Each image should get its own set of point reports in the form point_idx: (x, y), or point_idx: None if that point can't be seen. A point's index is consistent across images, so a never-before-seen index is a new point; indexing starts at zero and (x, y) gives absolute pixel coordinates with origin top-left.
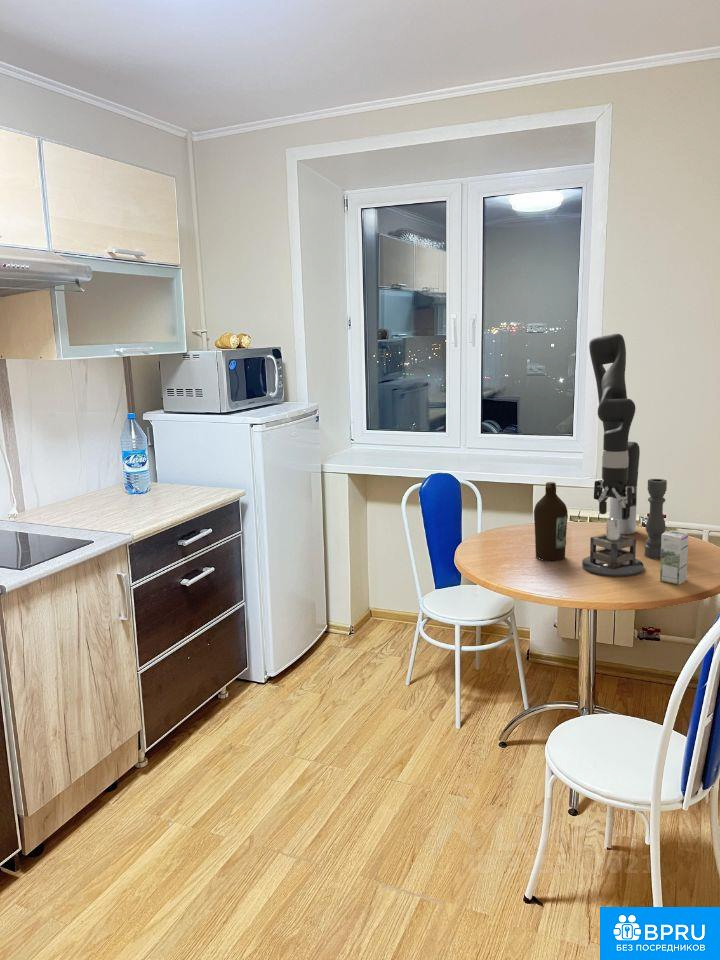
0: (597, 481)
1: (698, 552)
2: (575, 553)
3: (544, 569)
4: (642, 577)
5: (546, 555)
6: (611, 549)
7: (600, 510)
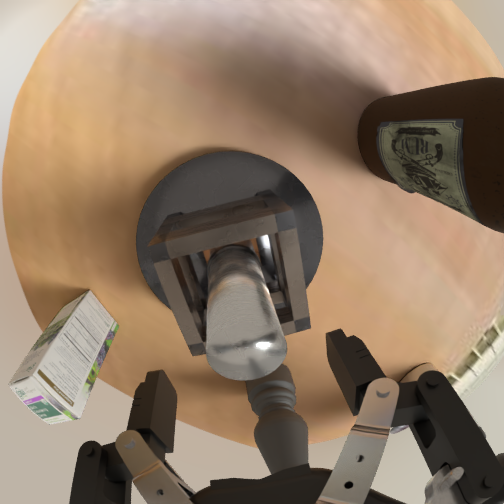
0: (483, 500)
1: (248, 432)
2: (386, 224)
3: (303, 49)
4: (124, 269)
5: (378, 101)
6: (167, 232)
7: (344, 342)
